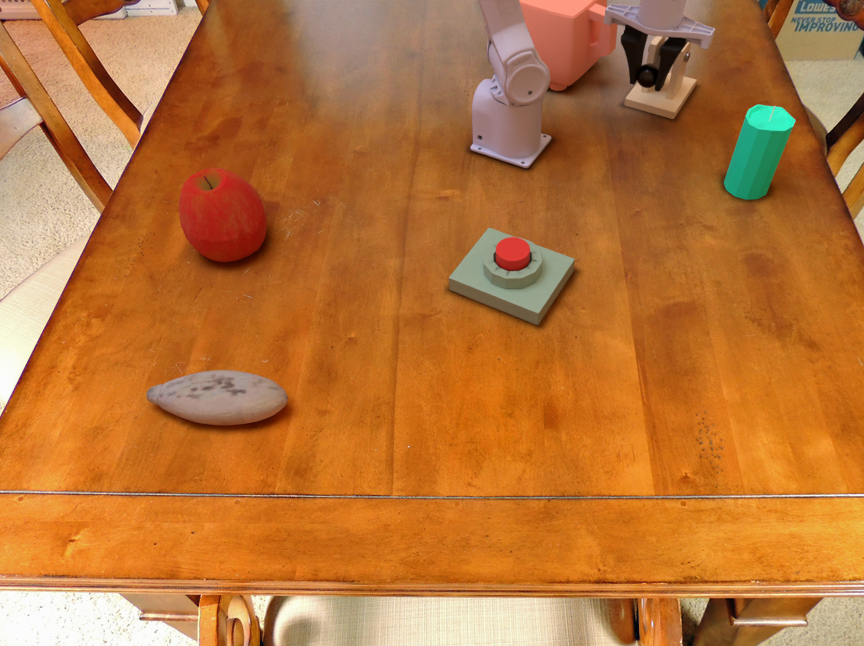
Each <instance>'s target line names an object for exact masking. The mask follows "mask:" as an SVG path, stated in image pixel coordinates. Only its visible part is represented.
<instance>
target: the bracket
mask: <svg viewBox="0 0 864 646" xmlns="http://www.w3.org/2000/svg"><path fill="white" fill-rule="evenodd" d="M666 38H667V37H662V36H654V37H653V39H652V40H651V42H650V43H649V46H648V50H647V58H646V63H645V64H647V63H652V64H653V63H654V61H655V60H656V59H657V58H658V56H659V52H660V48H661V45H662V44H663V43H664V42H665V41H666ZM692 44H693V43H689V42H688V43H687V44H686V45H685V47H684V48H683V49H682V51H681V52H680V54H679V55H678V57H677V58H676V60H675V62H674V63H673V65H672V67H671V72H670V71H669V73H668V75H667V78H666V80H665V83H664V86H663V87H662V89H661V90H660V91H659V92H658V91H655V86H653V87H651V88H644V87H642V86H640V85H639V83H638V81H636V83H635V84H634V85H633V87H632V88H631V90H630V91H629V92H628V94H627V95H626V97H625V98H624V103H623V106H625V107H629V108H632V109H634V110H635V109H636V110H639V111H643V112H646V113H650V114H653V115H656V116H659V117H660V116H661V117H664V118H667V119H671V120H674V119H675V118H676V116H677V115H678V113H679V112H680V110H681V109H682V107H683V106H684V104H685V103H686V101H687V100H688V98H689V97H690V95H691V94H692V92H693V90H694V89H695V87H696V84H697V81H698V80H697V79H696V78H692V77H688V76H685V74H686V69H687V65H688V62H689V60H690V57H691V48H692Z"/></svg>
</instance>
